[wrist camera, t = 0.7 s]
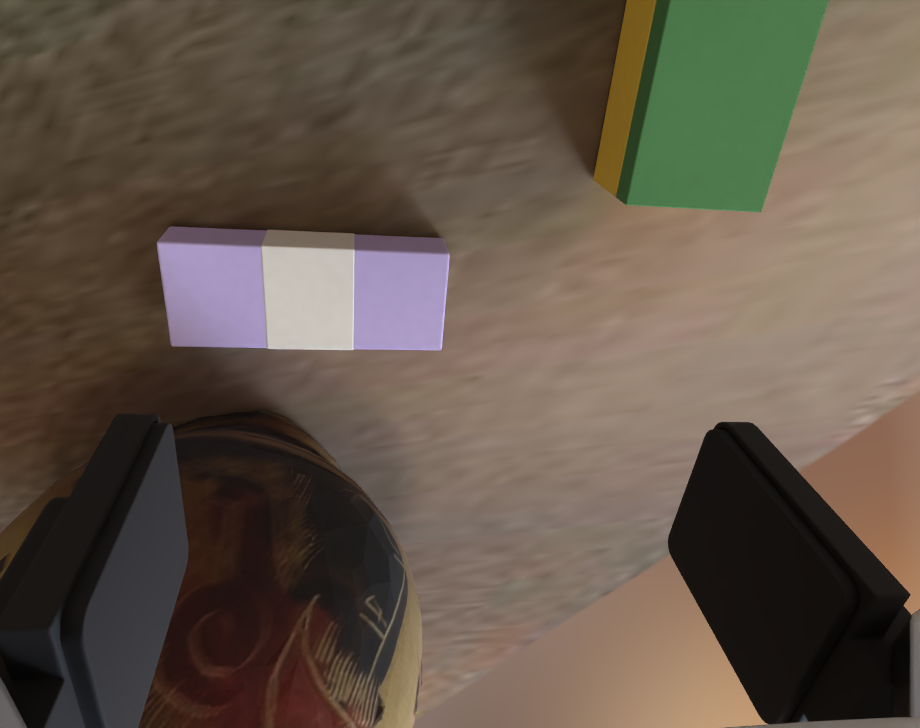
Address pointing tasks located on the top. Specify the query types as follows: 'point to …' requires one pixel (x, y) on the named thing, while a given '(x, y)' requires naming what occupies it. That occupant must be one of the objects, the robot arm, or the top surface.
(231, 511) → the ceramic jug
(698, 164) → the sponge
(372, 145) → the top surface
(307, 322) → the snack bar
